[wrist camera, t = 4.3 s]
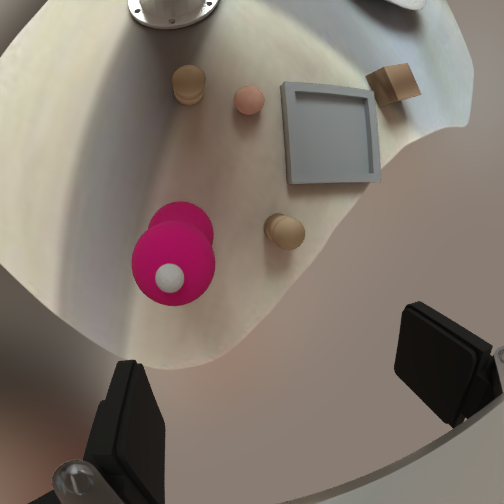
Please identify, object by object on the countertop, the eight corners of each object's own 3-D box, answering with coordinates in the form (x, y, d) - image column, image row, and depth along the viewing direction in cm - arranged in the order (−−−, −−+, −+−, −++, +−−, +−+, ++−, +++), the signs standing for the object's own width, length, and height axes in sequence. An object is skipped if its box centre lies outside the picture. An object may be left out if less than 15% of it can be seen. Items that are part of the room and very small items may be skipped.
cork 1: (174, 80, 31) (171, 66, 27) (203, 78, 32) (204, 63, 27) (175, 106, 32) (172, 95, 27) (204, 104, 33) (206, 92, 28)
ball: (231, 91, 33) (235, 82, 30) (259, 90, 34) (266, 82, 30) (233, 117, 34) (237, 111, 30) (261, 117, 34) (268, 110, 31)
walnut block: (365, 76, 35) (383, 67, 31) (388, 71, 36) (407, 63, 31) (378, 106, 37) (398, 100, 32) (400, 100, 37) (421, 94, 32)
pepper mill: (222, 220, 37) (254, 263, 17) (190, 268, 37) (190, 355, 18) (173, 188, 35) (147, 195, 15) (142, 238, 35) (91, 299, 16)
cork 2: (263, 214, 37) (273, 219, 33) (290, 212, 38) (304, 217, 33) (264, 242, 38) (275, 251, 33) (291, 240, 39) (305, 248, 34)
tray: (280, 86, 34) (284, 81, 32) (366, 94, 36) (373, 91, 34) (287, 183, 37) (292, 184, 35) (373, 181, 39) (380, 182, 37)
